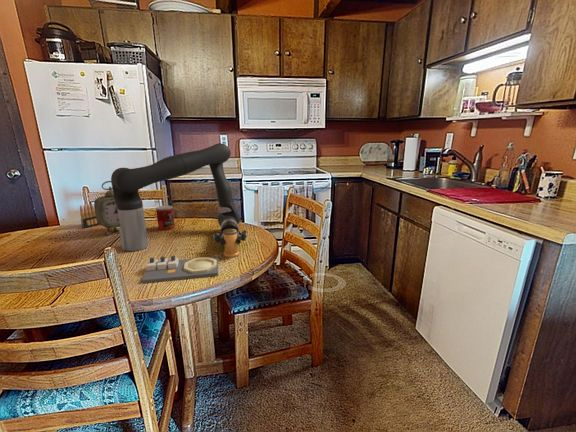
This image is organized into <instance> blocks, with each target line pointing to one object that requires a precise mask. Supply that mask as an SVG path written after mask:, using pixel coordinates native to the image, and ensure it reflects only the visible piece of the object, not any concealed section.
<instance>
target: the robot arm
mask: <svg viewBox="0 0 576 432" xmlns="http://www.w3.org/2000/svg"><path fill="white" fill-rule="evenodd" d="M231 155H232V152H231V148H230V147H229V146H228V145H227V144H225V143H221V142H220V143H219V142H218V143H215V144H213V145H211V146H208V147H205V148H202V149H199V150H193V151H188V152H183V153H177V154H174V155H170V156H167V157H164V158H161V159H160V160H158V161H156V162H153V163H152V164H149V165H147V166H142V167H134V168H129V167H118V168H117V169H115V170H114V171H112V174H111V178H110V181H111V182H110V183H111V188H112V189H113V194H114V199H115V202H116V204H117V209H118V215H119V221H120V227H118V232H119V237H120V244H121V250H122V251H123V252H124V251H126V252H135V251H136V252H138V251H140V250H145V249H146V248H148V247H149V240H148V234H147V233H148V232H147V226H146V225H147V224H146V219H145V218H146V217H145V213H144V206H143V205H144V204H143V200H142V199H141V196H140V194H139V193H140V192H139V190H140V189H143V188H145V187H148V186H151V185H152V184H155V183H159V182H164V181H168V180H171V179H172V180H173V179H176V178H179V177H182V176H186V175H188V174H190V173H194V172H195V171H198V170H200V169H202V168H204V167H206V166H209V168H210V172H211V174H212V177H213V182H214V185H215V190H216V194H217V202H218V206H219V207H220V208H224V209H225V208H228V209H229V210H230V211H225V212H220V213H219V214H218V215H217V222H218V225H219V227H220V232H219V233H217V232H213V233H212V236H213V240H214V241H215V242H216V244H218V243H220V245H222V247H224V234H223V231H224V230H226V229H236V230H237V246H238V245H240V244H241V242H243V241H244V242H245V241H246V239H247V237H248V234H247V230H243V231H240V229H239V224H240V221H241V217H240V214H239V212H238V210H237V208H236V206H235V203H234V199H233V193H232V188H231V185H230V183H229V181H228V179H227V176H226V174H225V171H224V163H226V162H228V160H229V159H230V157H231Z"/></svg>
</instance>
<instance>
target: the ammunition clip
mask: <svg viewBox="0 0 576 432" xmlns="http://www.w3.org/2000/svg"><path fill="white" fill-rule="evenodd" d="M79 210H80V212H79V213H80V221H81V228H82V229H83V228H86V229H90V228H94V227H97V226H101V225H100V224H99V223H98V221H97V219H96V216H95V210H94V204H93V203H90V204H89V203H87V206H86V204H83V206H82V205H79ZM93 226H94V227H93ZM89 227H90V228H89Z"/></svg>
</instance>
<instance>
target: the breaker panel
mask: <svg viewBox="0 0 576 432" xmlns="http://www.w3.org/2000/svg"><path fill="white" fill-rule="evenodd" d="M145 268H146V271H145V273H144V275H143V276H142V278H141V284H147V283H148V284H149V283H156V282H157V283H158V282H167V281H178V280H185V279H196V278H197V279H198V278H207V277H208V278H209V277H217V276H218V277H219V256H210V257H208V256H205V257H196V258H187V259H179V257H176V255H171V256H170V258H166V257H165V256H160V258H159V260H158V258H157V259H155V257H150V258H149V259H148V262H147V263H146V265H145Z"/></svg>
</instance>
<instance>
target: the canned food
mask: <svg viewBox="0 0 576 432" xmlns="http://www.w3.org/2000/svg"><path fill="white" fill-rule="evenodd" d="M155 210H156V211H155V212H156V220H157V226H158V230H160V231H171V230H173V229H175V227H176V226H175V217H174V215H175V214H174V208H173V206H172V205H158V206H156V208H155Z"/></svg>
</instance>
